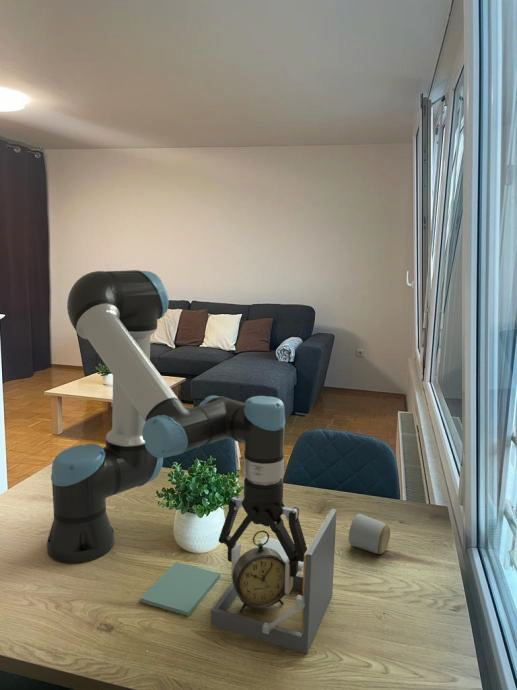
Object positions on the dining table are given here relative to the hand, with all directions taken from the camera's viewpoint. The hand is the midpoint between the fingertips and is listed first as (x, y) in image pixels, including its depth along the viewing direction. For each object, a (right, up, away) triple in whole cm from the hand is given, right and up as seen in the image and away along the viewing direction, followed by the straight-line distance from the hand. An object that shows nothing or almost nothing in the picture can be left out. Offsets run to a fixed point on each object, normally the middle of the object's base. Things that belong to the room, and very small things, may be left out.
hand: (261, 582), depth 107 cm
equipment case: (+2, -5, 0) cm, 6 cm away
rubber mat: (-17, -4, +6) cm, 18 cm away
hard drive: (+5, -3, +20) cm, 20 cm away
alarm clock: (0, -5, +1) cm, 5 cm away
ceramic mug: (+26, -2, +24) cm, 36 cm away
